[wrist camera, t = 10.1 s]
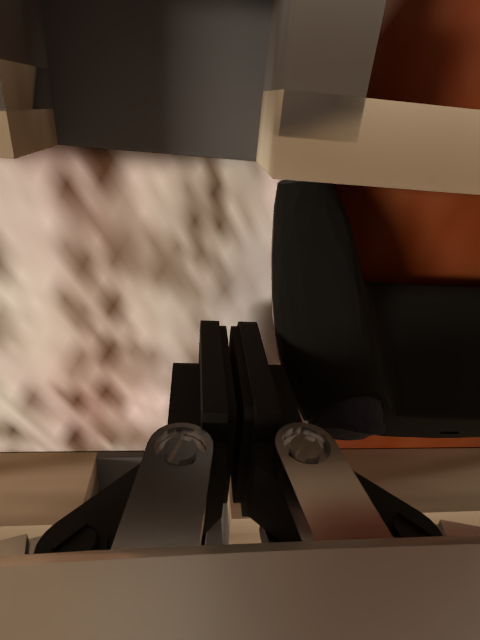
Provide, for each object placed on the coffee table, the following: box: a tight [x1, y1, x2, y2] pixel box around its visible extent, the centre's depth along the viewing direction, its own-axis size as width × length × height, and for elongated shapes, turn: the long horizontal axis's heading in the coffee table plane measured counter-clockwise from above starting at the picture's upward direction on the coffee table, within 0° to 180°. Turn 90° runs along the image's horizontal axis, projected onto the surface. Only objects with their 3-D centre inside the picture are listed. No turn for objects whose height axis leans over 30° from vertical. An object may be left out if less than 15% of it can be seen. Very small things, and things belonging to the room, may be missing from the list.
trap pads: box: [40, 0, 272, 491], centre depth 13 cm, size 18×5×1 cm, turn 175°
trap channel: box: [0, 0, 480, 545], centre depth 11 cm, size 21×33×4 cm, turn 85°
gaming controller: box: [271, 180, 480, 440], centre depth 12 cm, size 11×4×7 cm
